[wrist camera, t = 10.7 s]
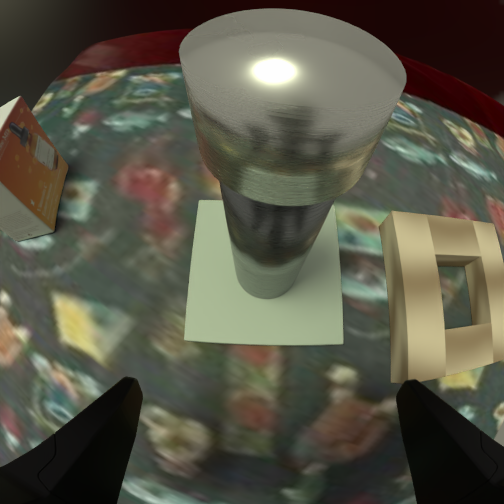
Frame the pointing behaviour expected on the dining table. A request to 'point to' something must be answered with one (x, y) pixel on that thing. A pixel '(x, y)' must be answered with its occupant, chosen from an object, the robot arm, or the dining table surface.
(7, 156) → the small box
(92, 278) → the dining table surface
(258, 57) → the dome-ended metal peg
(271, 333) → the pad
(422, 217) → the socket block
